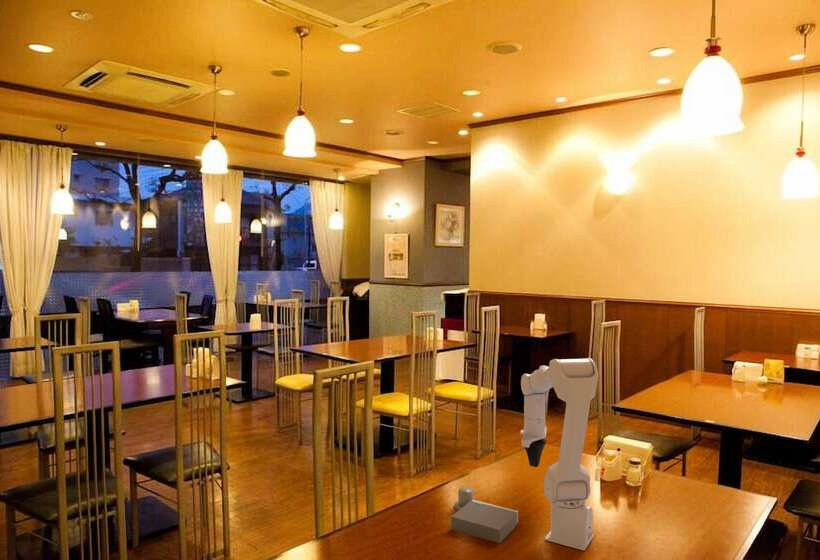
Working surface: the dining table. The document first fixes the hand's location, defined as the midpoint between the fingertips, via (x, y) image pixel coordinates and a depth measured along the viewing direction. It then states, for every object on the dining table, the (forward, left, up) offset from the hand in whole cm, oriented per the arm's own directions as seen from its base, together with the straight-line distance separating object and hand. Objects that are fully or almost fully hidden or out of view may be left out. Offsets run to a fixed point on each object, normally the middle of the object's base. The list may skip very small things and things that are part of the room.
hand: (534, 465), depth 159 cm
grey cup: (+14, +14, -10) cm, 22 cm away
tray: (+5, +22, -10) cm, 24 cm away
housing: (+5, +22, -10) cm, 24 cm away
